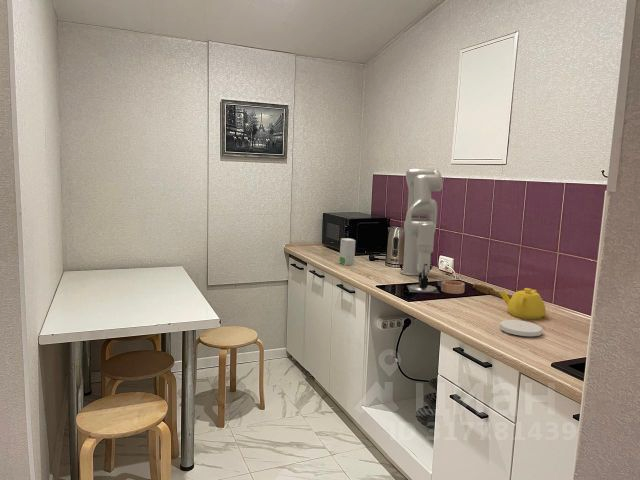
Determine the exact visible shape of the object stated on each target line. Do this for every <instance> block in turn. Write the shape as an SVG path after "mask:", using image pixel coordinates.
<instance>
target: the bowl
mask: <svg viewBox="0 0 640 480" xmlns="http://www.w3.org/2000/svg"><path fill="white" fill-rule="evenodd" d="M440 285H441V287H440V290H441V292H443V293H446V294H451V295H452V294H454V295H459V294H464V293H465V286H466V284H465V282H462V281H458V280H443V281H441V284H440Z"/></svg>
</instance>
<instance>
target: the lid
mask: <svg viewBox="0 0 640 480" xmlns="http://www.w3.org/2000/svg"><path fill="white" fill-rule="evenodd" d="M421 278H422V277H420V280H419V279H418V283H419V284H417V283H416V284H411V285H410V284H409V285H410V286H409V289H410V290H413V291H417V292H416V293H421V292H435V291H437V290H438V288H437V287H436V286H435V287H434V286H432V285H429V284H428V287H421ZM409 289H408V290H409Z"/></svg>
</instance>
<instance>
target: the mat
mask: <svg viewBox="0 0 640 480" xmlns="http://www.w3.org/2000/svg"><path fill="white" fill-rule="evenodd" d="M409 286H410V284H409V285H406V287H407V289H408V291H409V293H418V292H417V291H413V290H410V289H409ZM434 287H436V286H434ZM420 293H423V294H424V293H426V294H427V293H428V294H440V291H439V290H438V289H437V291H435V292H420Z"/></svg>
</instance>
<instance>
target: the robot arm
mask: <svg viewBox="0 0 640 480" xmlns="http://www.w3.org/2000/svg"><path fill="white" fill-rule="evenodd" d="M405 180H406V184H407V185H406V186H407V187H408V197H407V198H408V200H407V211H406V214H405V215H406V216H405V220H404V222H403V230H404V248H403V249H404V251H403V265H402V268H403V269H401V270H400V271H399V273H400V274H401V275H405V276H411V277H412V276H415V277H416V276H418V281H419V280H420V277H422V278H421V287H428V285H429V273H430V271H431V259H432V257H431V255H432V253H434V246H435V245H434V242H435V233H436V229H437V218H438V204H437V201H436V200H435V199H432V192H440V191H442V189H443V187H444V185H443V184H444V181H443V177H442V174H441V172H440V171H439V169H437V168H422V167H415V168H414V167H413V168H408V169H407V170H406V172H405ZM413 216H416V217H413ZM423 217H427V218H423Z"/></svg>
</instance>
